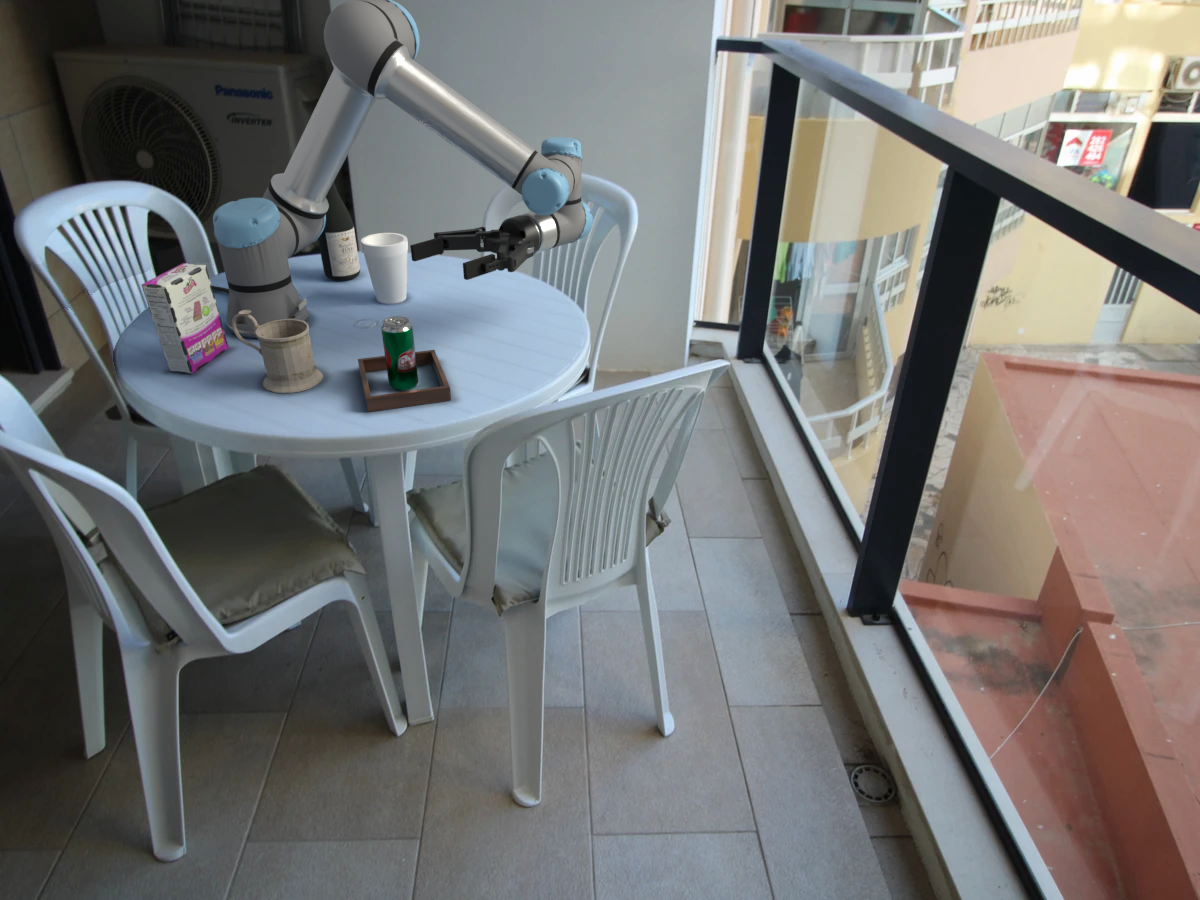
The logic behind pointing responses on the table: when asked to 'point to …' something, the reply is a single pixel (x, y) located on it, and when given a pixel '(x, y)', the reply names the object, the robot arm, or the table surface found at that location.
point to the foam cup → (387, 265)
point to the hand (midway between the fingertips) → (437, 262)
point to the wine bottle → (338, 241)
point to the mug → (284, 354)
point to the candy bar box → (186, 317)
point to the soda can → (399, 353)
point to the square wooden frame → (408, 396)
